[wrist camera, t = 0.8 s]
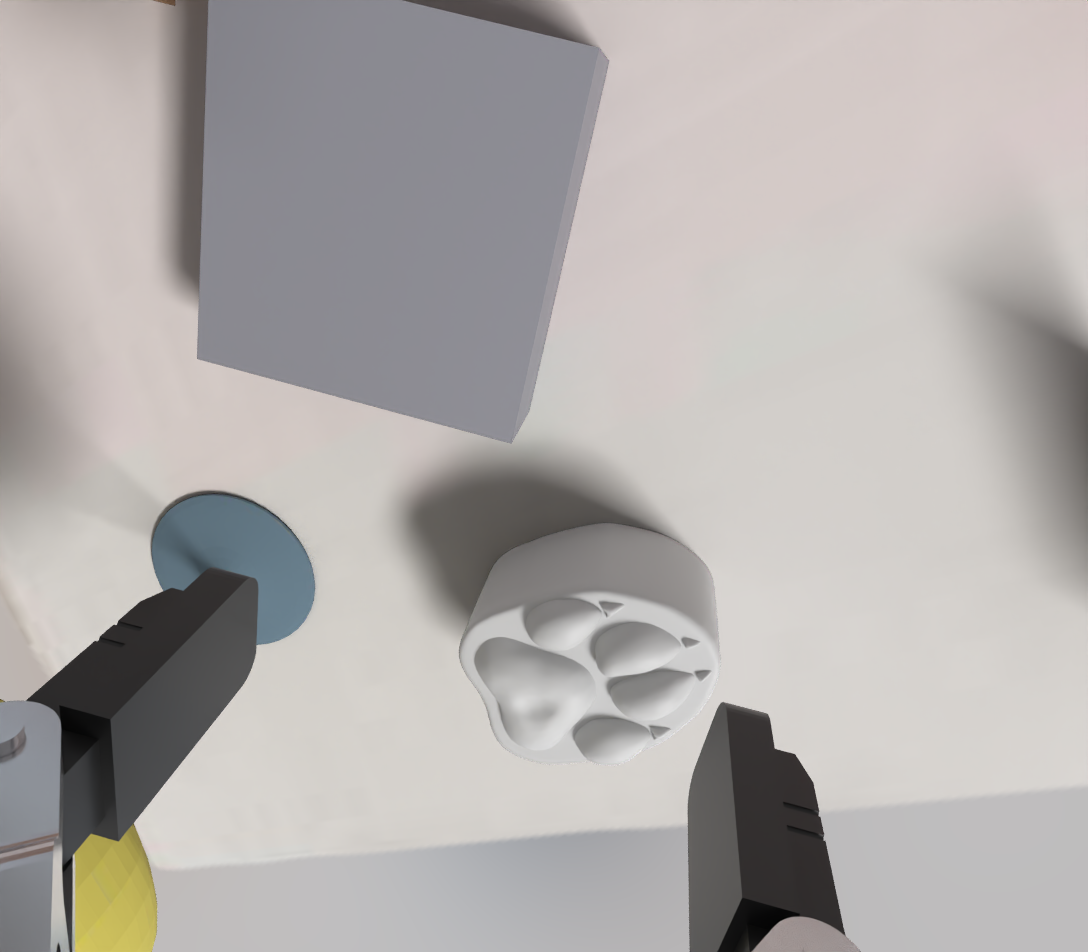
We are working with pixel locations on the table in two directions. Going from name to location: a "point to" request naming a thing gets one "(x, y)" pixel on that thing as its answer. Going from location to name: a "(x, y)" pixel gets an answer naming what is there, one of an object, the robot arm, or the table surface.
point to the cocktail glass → (283, 604)
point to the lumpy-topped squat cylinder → (593, 644)
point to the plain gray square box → (389, 201)
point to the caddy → (167, 1)
